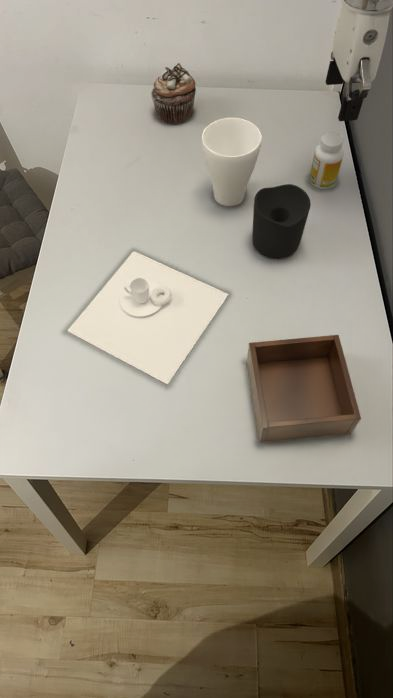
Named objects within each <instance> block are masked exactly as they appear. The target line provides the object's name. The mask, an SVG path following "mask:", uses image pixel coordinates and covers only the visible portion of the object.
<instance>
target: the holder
mask: <svg viewBox="0 0 393 698" xmlns="http://www.w3.org/2000/svg"><path fill="white" fill-rule="evenodd" d="M246 367H247V372H248V379H249V385H250V392H251V398H252V405H253V410H254V418H255V424H256V429H257V435H258V442H259V443H261V444H262V443H269V442H271V443H272V442H279V441H291V440H301V439H312V438H322V437H333V436H343V435H351V434H352V433H353V431H354V429H355V428H356V427H357V426H358V424H359V423H360V422H361V420H362V417H361V412H360V409H359V405H358V401H357V398H356V393H355V390H354V387H353V382H352V379H351V375H350V371H349V368H348V365H347V361H346V356H345V353H344V350H343V346H342V342H341V339H340V335H339V334H330V335H320V336H319V335H318V336H307V337H296V338H287V339H276V340H275V339H274V340H265V341H255V342H253V341H252V342H248V349H247V354H246Z"/></svg>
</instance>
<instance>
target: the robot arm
mask: <svg viewBox="0 0 393 698" xmlns="http://www.w3.org/2000/svg"><path fill="white" fill-rule="evenodd" d="M340 2H341V8H340V11H339V15H338V19H337V23H336V27H335V30H334V34H333V35H334V36H333V41H332V51H331V53H330V61H329V64H328V68H327V73H326V77H325V81H324V82H325V85H327V86H333V85H335V86H336V85H344V83H346V87H345V88H346V89H345V96H344V97H343V98H342V101H341V104H340V109H339V113H338V116H337V119H338V121H339V122H350V121H357V120H358V118H359V116H360V113H361V109H362V106H363V103H364V101H365V100H366V98H367V96H368V95H369V93H370V90H372V89H371V88H372V82H373V81H374V80H375V79H376V76H377V73H378V69H379V66H380V62H381V58H382V55H383V51H384V47H385V43H386V37H387V35H388V34H387V33H388V29H389V21H390V17H391V12H390V11H391V10H392V9H393V0H340ZM357 74H358V77H354V76H355V75H357ZM358 83H359V85H358V88H357V89H355V90H353V84H358Z"/></svg>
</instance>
